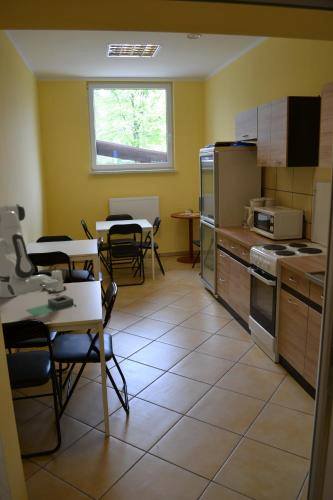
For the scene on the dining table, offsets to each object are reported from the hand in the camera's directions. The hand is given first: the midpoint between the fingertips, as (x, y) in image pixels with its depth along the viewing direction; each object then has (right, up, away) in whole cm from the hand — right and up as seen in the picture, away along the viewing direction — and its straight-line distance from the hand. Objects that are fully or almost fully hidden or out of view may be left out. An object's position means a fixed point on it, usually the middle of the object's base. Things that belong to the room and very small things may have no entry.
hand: (58, 278), depth 244 cm
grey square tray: (+1, -17, +4) cm, 18 cm away
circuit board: (-4, -19, 0) cm, 19 cm away
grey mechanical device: (-13, -11, +37) cm, 41 cm away
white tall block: (0, -7, +1) cm, 7 cm away
